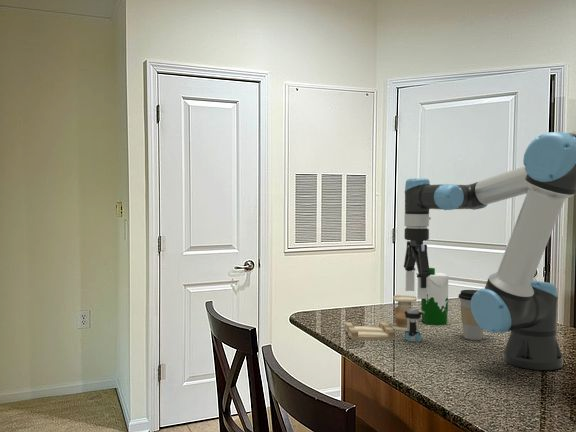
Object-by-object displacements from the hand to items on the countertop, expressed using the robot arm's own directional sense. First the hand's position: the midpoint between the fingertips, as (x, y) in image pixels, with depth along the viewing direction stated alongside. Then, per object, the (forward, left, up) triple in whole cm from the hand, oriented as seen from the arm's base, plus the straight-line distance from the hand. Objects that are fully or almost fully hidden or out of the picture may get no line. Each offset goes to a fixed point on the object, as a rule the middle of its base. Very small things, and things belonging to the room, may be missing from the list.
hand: (415, 294), depth 174 cm
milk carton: (+23, -14, -15) cm, 31 cm away
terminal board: (+8, +13, -15) cm, 21 cm away
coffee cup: (+3, -20, -15) cm, 25 cm away
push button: (0, 0, -15) cm, 15 cm away
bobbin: (+16, -1, -15) cm, 22 cm away
